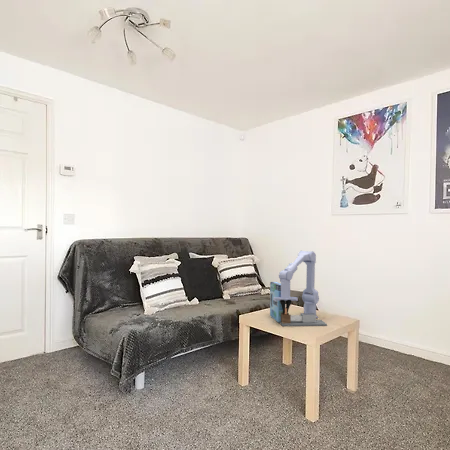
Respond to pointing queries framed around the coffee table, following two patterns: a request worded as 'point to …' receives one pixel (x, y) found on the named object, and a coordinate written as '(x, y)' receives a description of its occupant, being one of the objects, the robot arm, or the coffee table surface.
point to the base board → (299, 323)
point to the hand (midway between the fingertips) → (285, 312)
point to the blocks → (294, 316)
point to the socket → (285, 318)
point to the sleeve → (308, 317)
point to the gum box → (275, 305)
